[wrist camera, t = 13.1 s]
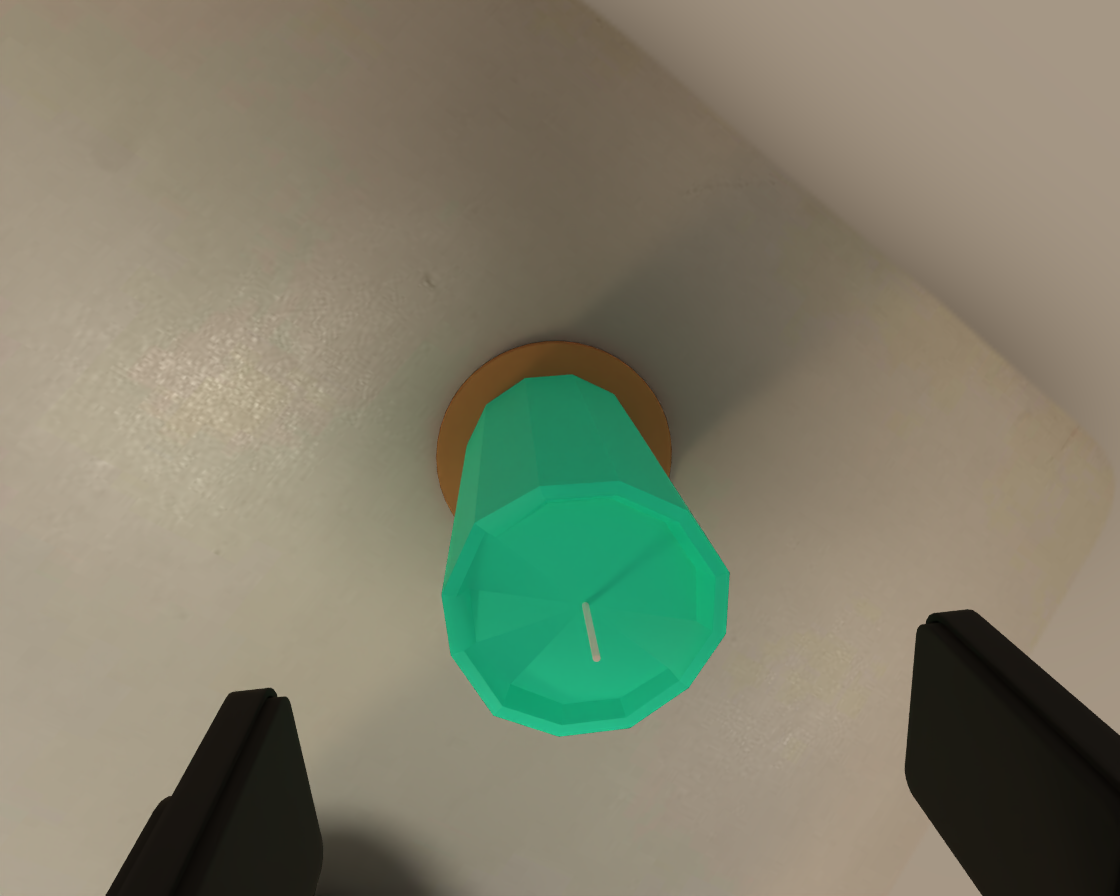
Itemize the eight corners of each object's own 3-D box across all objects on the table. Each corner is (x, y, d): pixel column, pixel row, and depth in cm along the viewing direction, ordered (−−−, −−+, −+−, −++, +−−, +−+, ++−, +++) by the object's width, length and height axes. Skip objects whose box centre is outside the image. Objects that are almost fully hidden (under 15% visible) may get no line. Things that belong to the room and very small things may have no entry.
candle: (612, 347, 24) (708, 460, 13) (663, 508, 26) (789, 734, 15) (438, 408, 24) (380, 573, 13) (502, 564, 26) (499, 830, 15)
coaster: (422, 352, 24) (421, 354, 24) (664, 330, 25) (667, 331, 24) (452, 574, 27) (451, 579, 26) (673, 550, 27) (675, 555, 27)
